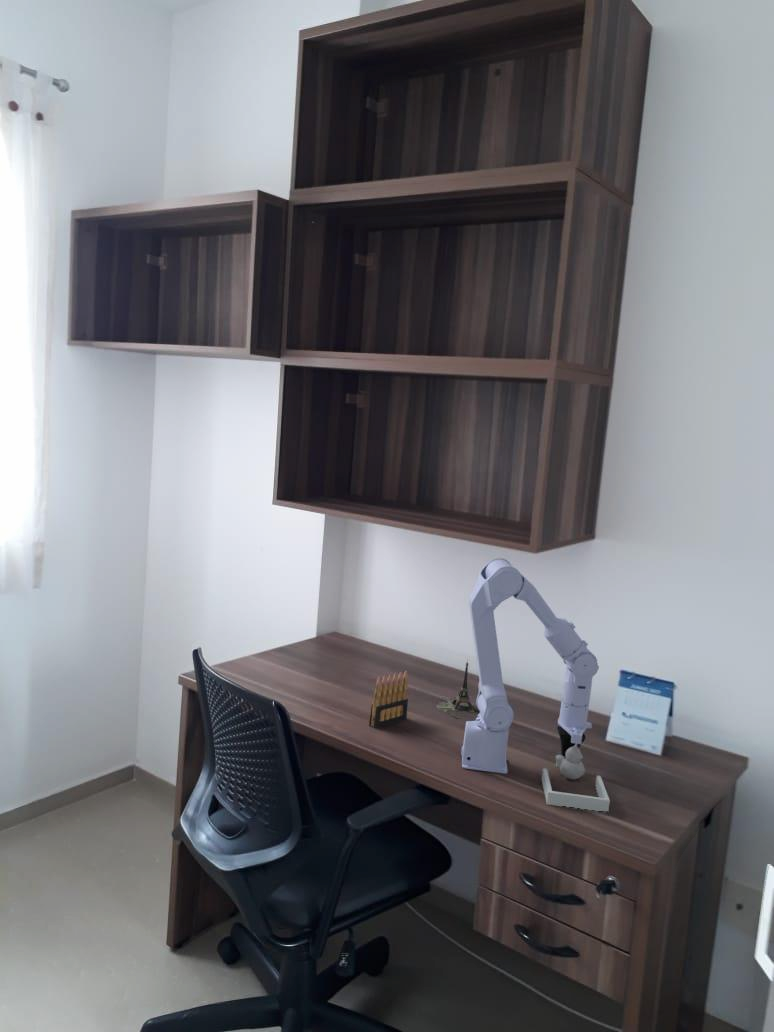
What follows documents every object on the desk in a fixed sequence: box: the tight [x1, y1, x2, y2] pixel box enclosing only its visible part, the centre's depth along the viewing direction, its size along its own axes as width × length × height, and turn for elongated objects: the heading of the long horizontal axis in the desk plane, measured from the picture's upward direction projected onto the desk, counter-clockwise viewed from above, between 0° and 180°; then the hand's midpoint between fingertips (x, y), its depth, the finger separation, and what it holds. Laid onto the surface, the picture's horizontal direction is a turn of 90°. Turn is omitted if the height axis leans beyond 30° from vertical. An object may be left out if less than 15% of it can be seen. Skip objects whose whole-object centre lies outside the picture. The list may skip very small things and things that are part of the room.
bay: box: [541, 767, 611, 812], centre depth 163 cm, size 12×11×2 cm
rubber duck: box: [555, 744, 586, 780], centre depth 171 cm, size 5×7×8 cm
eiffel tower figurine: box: [436, 659, 475, 719], centre depth 206 cm, size 15×10×13 cm
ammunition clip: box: [368, 670, 409, 729], centre depth 191 cm, size 11×2×12 cm, turn 134°
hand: (567, 762), depth 175 cm, fingers closed
